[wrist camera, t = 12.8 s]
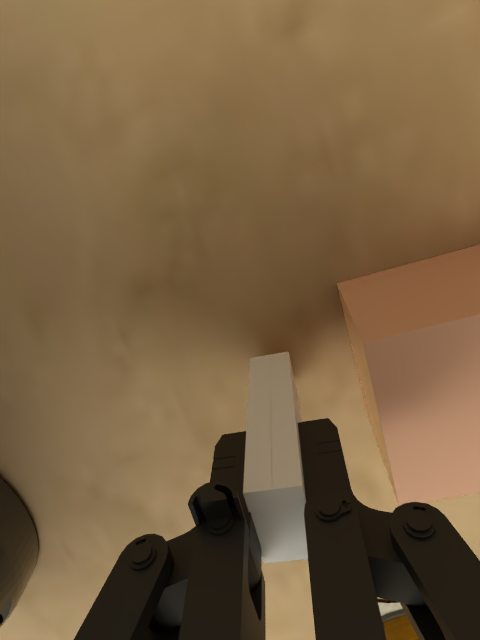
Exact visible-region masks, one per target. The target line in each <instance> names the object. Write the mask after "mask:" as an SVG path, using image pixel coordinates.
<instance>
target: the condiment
mask: <svg viewBox="0 0 480 640" xmlns="http://www.w3.org/2000/svg"><path fill="white" fill-rule="evenodd" d="M378 605H379V609H380V614H381V618H382V622H383V627H384V631H385V636H386V640H419V638H418V636H417V634H416V632H415V631H414V629H413V627H412V625H411V623H410V621H409V619H408V617H407V615H406V614H405V612H404V610H403V608H402V606H401V604H400V603H378Z"/></svg>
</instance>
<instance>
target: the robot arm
mask: <svg viewBox="0 0 480 640" xmlns="http://www.w3.org/2000/svg"><path fill="white" fill-rule="evenodd" d="M213 459H214V461H213V465H212V472H211V479H210V483H206V484H204V485H203V486H201V487H200V488H198V489H197V490H196V491H195V492H194V493H193V494H192V495H191V497H190V500H189V502H188V506H189V509H190V511H191V514H192V516H193V519H194V522H195V524H196V526H195V527H194V528H193V529H191V530H190V531H189V532H187V533H185V534H183V535H181V536H178V537H176V538H174V539H171V540H169V541H165V540H164V538H163V537H162V536H159V535H156V534H145V535H143V536H141V537H138V538H136V539H135V540H133V541H132V542H131V543H129V544H128V545H127V546H126V548H125V549H124V550H123V552H122V553H121V555H120V556H119V558H118V560H117V562H116V564H115V566H114V567H113V569H112V571H111V573H110V575H109V576H108V578H107V580H106V582H105V584H104V586H103V587H102V589H101V591H100V593H99V595H98V596H97V598H96V600H95V602H94V604H93V606H92V607H91V609H90V611H89V613H88V615H87V617H86V618H85V620H84V622H83V624H82V626H81V627H80V629H79V631H78V633H77V635H76V637H75V638H74V640H265V581H264V577H263V573H262V570H261V554H262V557H263V560H264V564H265V563H275V562H284V561H294V560H304V559H308V562H309V573H310V583H311V594H312V604H313V614H314V625H315V635H316V640H386V636H385V631H384V627H383V622H382V618H381V614H380V609H379V605H378V600H377V597H379V598H383V599H387V600H391V601H395V602H399V603H400V604H401V606H402V608H403V610H404V612H405V614H406V615H407V617H408V619H409V621H410V623H411V625H412V627H413V629H414V631H415V632H416V634H417V636H418V638H419V640H480V561H479V559H478V558H477V557H476V555H475V554H474V553H473V551H472V550H471V549H470V548H469V546H468V545H467V544H466V542H465V541H464V540H463V538H462V537H461V536H460V535H459V533H458V532H457V531H456V529H455V528H454V527H453V525H452V524H451V523H450V522H449V520H448V519H447V518H446V516H445V515H444V514H442V513H441V512H440V511H439V510H438V509H437V508H435V507H433V506H431V505H429V504H426V503H420V502H410V503H404V504H402V505H400V506H399V507H397V508H395V510H394V511H393V513H390V512H384V511H378V510H375V509H371V508H369V507H367V506H365V505H363V504H362V503H361V502H359V501H358V500H357V499H356V497H355V496H354V495H353V492H352V490H351V487H350V482H349V478H348V473H347V469H346V465H345V460H344V456H343V452H342V447H341V443H340V438H339V434H338V430H337V427H336V426H335V425H334V424H333V423H332V422H331V421H330V420H329V419H328V418H326V419H319V420H312V421H305V422H302V418H301V410H300V405H299V400H298V395H297V390H296V385H295V380H294V375H293V371H292V366H291V361H290V356H289V351H288V352H282V353H277V354H271V355H265V356H259V357H253V358H250V370H249V389H248V408H247V427H246V431H244V432H237V433H231V434H224V435H222V436H221V438H220V440H219V441H218V443H217V444H216V446H215V451H214V458H213ZM37 557H38V541H37V535H36V531H35V528H34V525H33V522H32V520H31V518H30V516H29V514H28V512H27V510H26V509H25V507H24V505H23V504H22V502H21V501H20V499H19V498H18V497H17V496H16V494H15V493H14V492H13V491H12V490H11V488H10V487H9V486H8V485H7V484H6V483H5V482H4V481H3V480H2V479H1V478H0V627H1V626H2V625H3V623H4V622H5V621H6V620H7V619H8V618H9V616H10V615H11V613H12V612H13V610H14V608H15V607H16V605H17V603H18V601H19V599H20V597H21V595H22V593H23V591H24V589H25V587H26V585H27V583H28V580H29V578H30V576H31V574H32V572H33V570H34V568H35V565H36V562H37Z"/></svg>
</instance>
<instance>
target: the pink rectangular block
mask: <svg viewBox="0 0 480 640" xmlns="http://www.w3.org/2000/svg"><path fill="white" fill-rule="evenodd" d="M337 286H338V290H339V295H340V299H341V303H342V307H343V312H344V316H345V320H346V324H347V329H348V333H349V337H350V341H351V346H352V350H353V354H354V358H355V363H356V367H357V371H358V375H359V380H360V384H361V388H362V393H363V397H364V401H365V405H366V410H367V414H368V418H369V422H370V425H371V428H372V431H373V433H374V436H375V439H376V442H377V445H378V448H379V451H380V453H381V456H382V459H383V462H384V465H385V468H386V471H387V473H388V476H389V479H390V482H391V485H392V488H393V490H394V493H395V496H396V499H397V502H398V505H399V506H400V505H402V504H404V503H410V502H420V503H427V502H433V501H438V500H444V499H449V498H455V497H460V496H466V495H471V494H477V493H480V245H476V246H472V247H469V248H465V249H461V250H458V251H454V252H450V253H447V254H443V255H439V256H436V257H432V258H428V259H425V260H421V261H417V262H414V263H410V264H406V265H403V266H399V267H395V268H391V269H388V270H384V271H380V272H377V273H373V274H369V275H366V276H362V277H358V278H355V279H351V280H347V281H344V282H340V283H337Z"/></svg>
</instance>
